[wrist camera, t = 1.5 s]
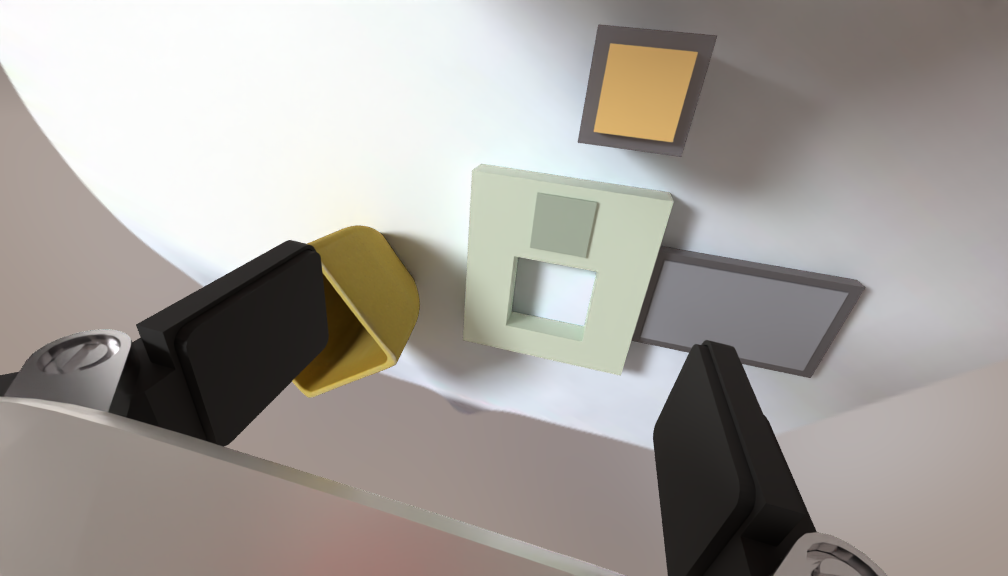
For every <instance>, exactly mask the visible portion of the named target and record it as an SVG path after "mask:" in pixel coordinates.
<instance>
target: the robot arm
mask: <svg viewBox="0 0 1008 576" xmlns="http://www.w3.org/2000/svg"><path fill="white" fill-rule="evenodd" d="M136 326H137V328H138V331H139V334H140V336H141V338H139V339H137V340H136V341H134V342H132V340H131V338H130V337H129V336H128V335H127V334H126V333H123V332H121V331H118V330H108V329H103V330H90V331H85V332H79V333H75V334H72V335H69V336H66V337H62V338H60V339H57V340H55V341H53V342H51V343H48V344H46V345H45V346H43V347H41V348H40V349H38V350H37V351H35V352H34V353H33V354H32V355H31V356H30V357H29V358H28V359H27V360H26V362H25V363H24V365H23V366H22V368H21V370H20V371H19V372H15V373H10V374H5V375H0V576H626V575H623V574H620V573H617V572H614V571H611V570H608V569H605V568H602V567H600V566H597V565H594V564H591V563H588V562H585V561H582V560H579V559H576V558H573V557H570V556H566V555H563V554H560V553H557V552H554V551H551V550H548V549H545V548H542V547H538V546H535V545H532V544H529V543H526V542H523V541H520V540H517V539H514V538H511V537H507V536H504V535H501V534H498V533H495V532H492V531H489V530H486V529H483V528H480V527H477V526H473V525H470V524H467V523H464V522H461V521H458V520H455V519H452V518H449V517H446V516H442V515H439V514H436V513H433V512H429V511H427V510H423V509H420V508H417V507H414V506H411V505H408V504H405V503H401V502H398V501H395V500H392V499H389V498H386V497H382V496H379V495H376V494H373V493H370V492H367V491H364V490H360V489H357V488H354V487H351V486H348V485H345V484H341V483H338V482H335V481H332V480H329V479H326V478H322V477H319V476H316V475H313V474H310V473H307V472H303V471H300V470H297V469H294V468H291V467H287V466H284V465H281V464H278V463H274V462H271V461H268V460H265V459H261V458H258V457H255V456H252V455H249V454H246V453H242V452H239V451H236V450H233V449H229V448H226V447H224V446H226V445H228V444H229V443H231V442H232V441H233V440H234V439H235V438H236V437H237V436H238V435H239V434H240V433H241V432H242V431H243V430H244V429H245V428H246V427H247V426H248V425H249V424H250V423H251V422H252V421H253V420H254V419H255V418H256V417H257V416H258V415H259V413H261V412H262V411H263V410H264V409H265V408H266V407H267V406H268V405H269V404H270V403H271V402H272V401H273V400H274V399H275V398H276V397H277V396H278V395H279V394H280V393H281V392H282V390H284V389H285V388H286V387H287V386H288V385H289V384H290V383H291V382H292V381H293V380H294V379H295V378H296V377H297V376H298V375H299V374H300V373H301V372H302V371H303V370H304V369H305V368H306V367H307V366H308V365H309V364H310V363H311V362H312V361H313V360H314V359H315V358H316V357H317V356H318V355H319V354H320V353H321V352H322V351H323V349H324V348H325V347H326V345H327V342H328V339H329V333H328V323H327V313H326V303H325V293H324V283H323V273H322V263H321V256H320V254H319V253H318V252H316V250H315V248H314V247H313V246H312V245H309V244H305V243H301V242H296V241H292V240H288V241H286V242H284V243H282V244H280V245H278V246H277V247H275V248H273V249H271V250H269V251H268V252H266V253H264V254H262V255H260V256H259V257H257V258H255V259H253V260H251V261H250V262H248V263H246V264H244V265H242V266H241V267H239V268H237V269H235V270H233V271H232V272H230V273H228V274H226V275H224V276H223V277H221V278H219V279H217V280H215V281H214V282H212V283H210V284H208V285H206V286H205V287H203V288H201V289H199V290H198V291H196V292H194V293H192V294H190V295H189V296H187V297H185V298H183V299H182V300H180V301H178V302H176V303H174V304H172V305H171V306H169V307H167V308H165V309H164V310H162V311H160V312H158V313H156V314H155V315H153V316H151V317H149V318H147V319H145V320H144V321H142V322H140V323H138V324H136ZM653 442H654V452H655V461H656V470H657V479H658V488H659V498H660V507H661V516H662V524H663V534H664V544H665V553H666V562H667V570H668V576H887V575H886V573H885V572H884V571H883V570H882V569H881V568H880V567H879V566H878V565H877V564H876V563H874V562H873V561H872V560H871V559H870V558H869V557H868V556H866V555H865V554H864V553H863V552H861V551H860V550H858V549H856V548H855V547H853V546H852V545H851V544H849V543H847V542H845V541H843V540H841V539H839V538H837V537H834V536H832V535H828V534H823V533H819V532H816V529H815V527H814V525H813V523H812V520H811V518H810V516H809V513H808V511H807V508H806V506H805V504H804V502H803V499H802V497H801V495H800V492H799V490H798V488H797V486H796V483H795V481H794V479H793V476H792V474H791V472H790V469H789V467H788V465H787V462H786V460H785V458H784V456H783V453H782V451H781V449H780V446H779V444H778V442H777V440H776V437H775V435H774V432H773V430H772V428H771V425H770V423H769V421H768V420H767V418H766V416H765V415H763V413H762V410H761V408H760V406H759V403H758V401H757V399H756V396H755V394H754V392H753V389H752V387H751V384H750V382H749V380H748V377H747V375H746V373H745V370H744V368H743V366H742V363H741V361H740V359H739V356H738V354H737V352H736V349H735V348H734V347H733V346H730V345H726V344H722V343H718V342H714V341H709V340H705V341H704V342H703V343H702V344H701V345H699V344H694V345H693V347H692V348H691V350H690V352H689V354H688V357H687V359H686V361H685V363H684V365H683V367H682V369H681V371H680V373H679V376H678V378H677V380H676V382H675V384H674V386H673V388H672V390H671V392H670V395H669V397H668V399H667V401H666V403H665V405H664V407H663V409H662V411H661V414H660V416H659V418H658V420H657V422H656V424H655V428H654V433H653Z"/></svg>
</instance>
